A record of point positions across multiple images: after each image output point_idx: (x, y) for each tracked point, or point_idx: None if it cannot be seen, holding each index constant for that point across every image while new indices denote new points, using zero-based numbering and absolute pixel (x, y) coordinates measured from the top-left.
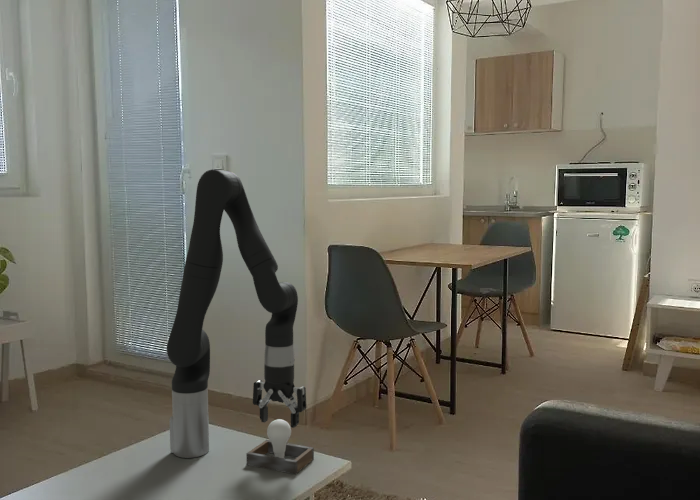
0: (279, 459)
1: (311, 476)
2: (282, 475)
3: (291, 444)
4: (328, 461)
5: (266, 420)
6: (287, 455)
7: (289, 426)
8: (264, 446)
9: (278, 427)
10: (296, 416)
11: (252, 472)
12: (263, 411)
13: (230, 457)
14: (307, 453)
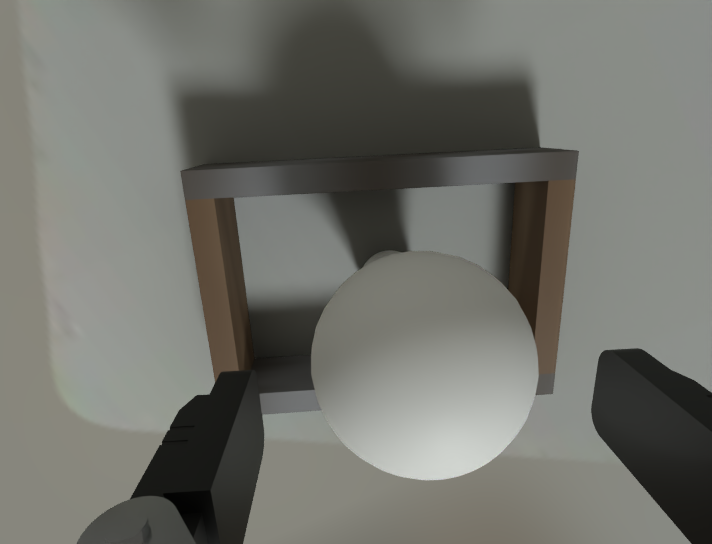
0: (310, 164)
1: (104, 180)
2: (264, 113)
3: None
4: (149, 386)
5: (597, 401)
6: None
7: (330, 422)
8: None
9: (391, 321)
10: (140, 485)
11: (454, 66)
12: (709, 427)
13: (677, 196)
14: (208, 337)
